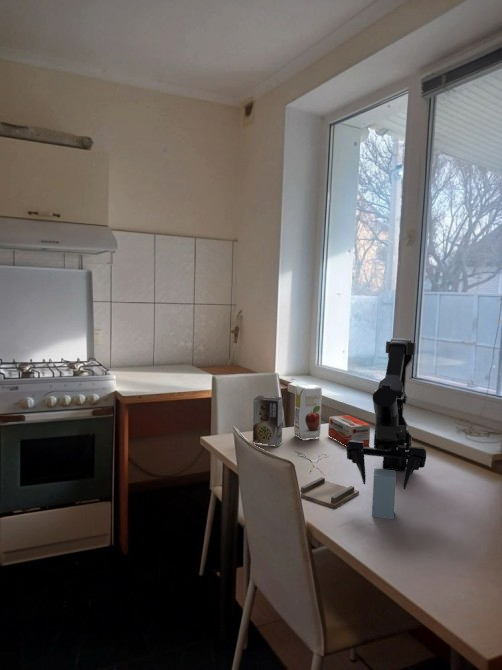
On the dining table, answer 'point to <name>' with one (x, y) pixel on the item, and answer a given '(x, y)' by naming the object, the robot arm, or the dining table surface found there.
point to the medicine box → (349, 429)
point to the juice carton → (307, 411)
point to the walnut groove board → (327, 493)
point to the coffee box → (267, 420)
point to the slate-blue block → (384, 493)
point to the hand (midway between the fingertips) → (384, 486)
